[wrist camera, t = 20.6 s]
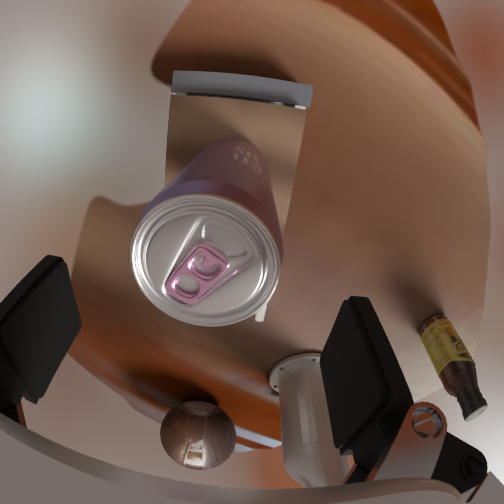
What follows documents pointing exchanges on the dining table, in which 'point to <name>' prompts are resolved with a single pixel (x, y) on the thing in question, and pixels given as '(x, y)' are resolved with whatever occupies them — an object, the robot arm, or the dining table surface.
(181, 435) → the wooden sphere
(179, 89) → the track
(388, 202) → the dining table surface
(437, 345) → the sauce bottle
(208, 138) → the slab
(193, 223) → the beverage can
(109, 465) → the robot arm
